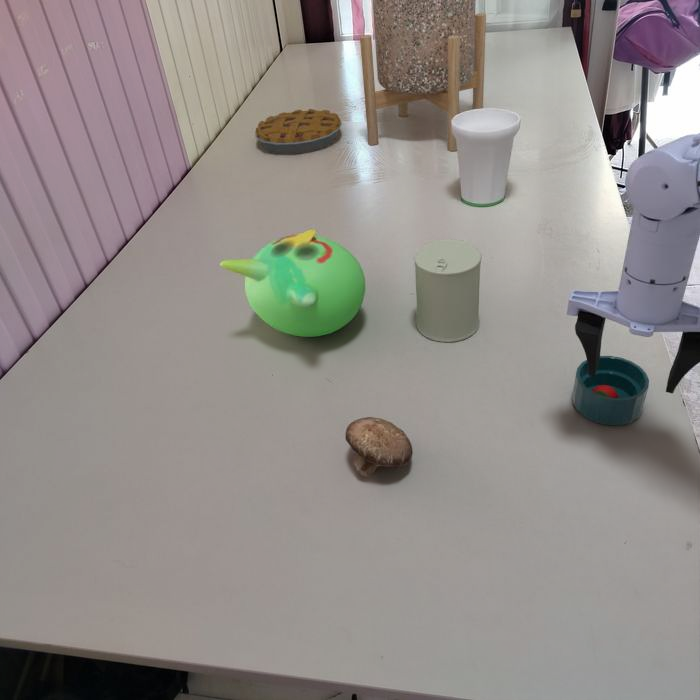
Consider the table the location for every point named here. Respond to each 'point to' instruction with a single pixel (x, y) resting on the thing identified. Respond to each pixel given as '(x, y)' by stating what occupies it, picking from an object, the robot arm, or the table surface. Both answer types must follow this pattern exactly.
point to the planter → (423, 57)
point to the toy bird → (302, 284)
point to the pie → (298, 131)
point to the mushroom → (377, 445)
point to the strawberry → (605, 391)
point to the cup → (484, 153)
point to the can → (447, 290)
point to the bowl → (622, 379)
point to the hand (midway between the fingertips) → (630, 378)
